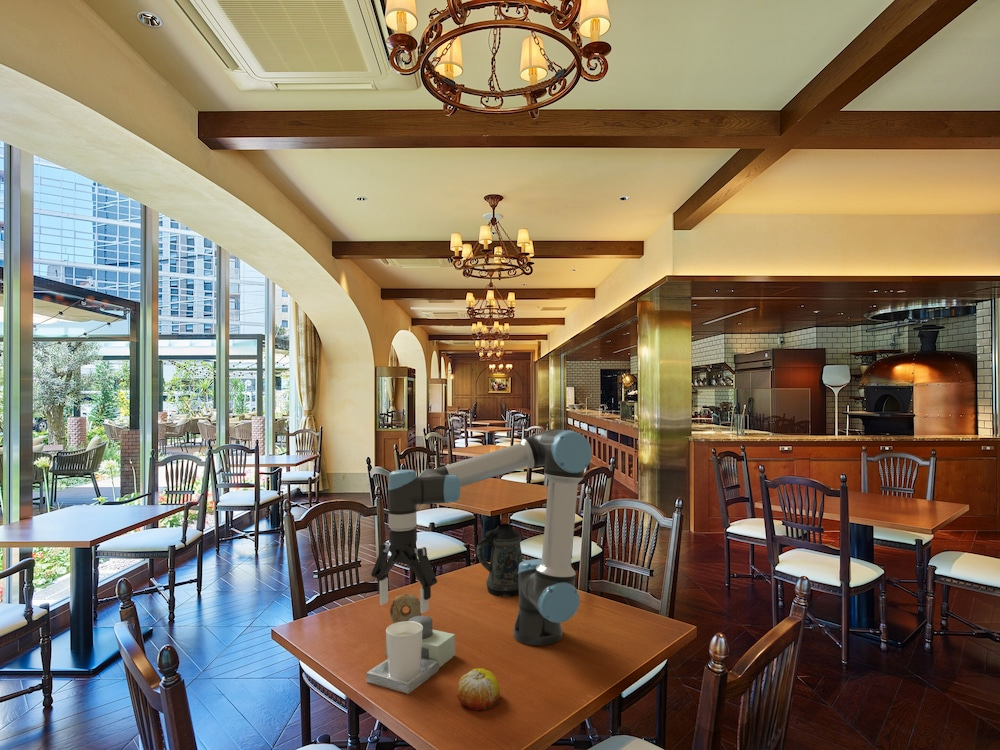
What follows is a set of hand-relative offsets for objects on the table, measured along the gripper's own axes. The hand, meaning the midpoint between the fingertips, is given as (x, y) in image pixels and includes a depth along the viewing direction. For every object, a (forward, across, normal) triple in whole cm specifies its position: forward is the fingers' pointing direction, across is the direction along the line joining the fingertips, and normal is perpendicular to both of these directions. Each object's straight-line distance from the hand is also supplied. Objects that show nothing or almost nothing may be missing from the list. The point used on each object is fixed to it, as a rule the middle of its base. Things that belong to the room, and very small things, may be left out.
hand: (403, 607), depth 150 cm
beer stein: (+19, +6, -71) cm, 74 cm away
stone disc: (+18, +20, -27) cm, 39 cm away
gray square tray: (+18, 0, 0) cm, 18 cm away
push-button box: (+18, +3, -12) cm, 22 cm away
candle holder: (+18, 0, 0) cm, 18 cm away
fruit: (+18, -24, +2) cm, 30 cm away
